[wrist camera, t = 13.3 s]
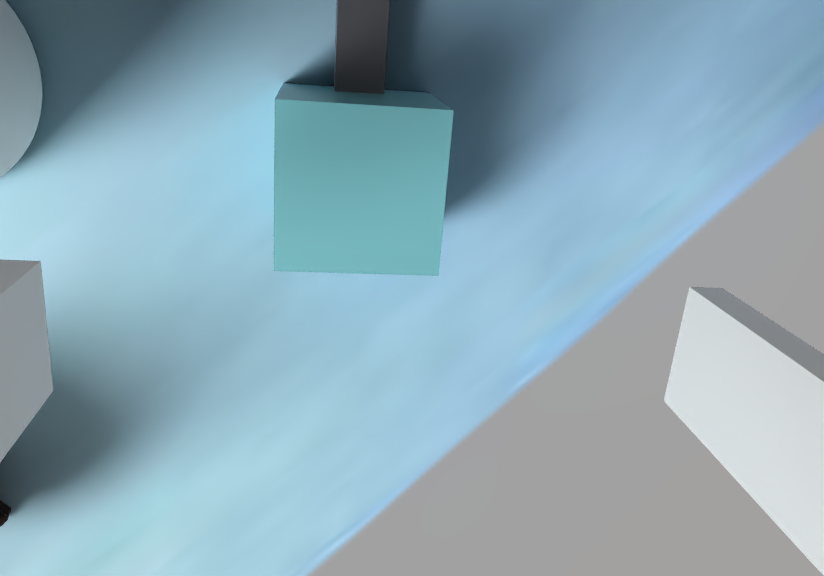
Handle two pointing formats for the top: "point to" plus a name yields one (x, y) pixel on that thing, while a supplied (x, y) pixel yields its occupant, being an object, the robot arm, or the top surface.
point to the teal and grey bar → (359, 162)
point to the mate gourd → (4, 513)
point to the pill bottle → (17, 89)
